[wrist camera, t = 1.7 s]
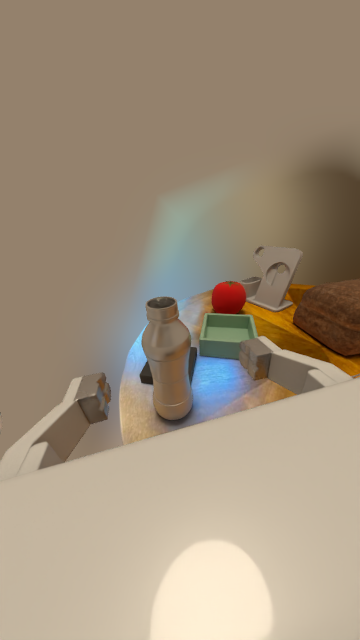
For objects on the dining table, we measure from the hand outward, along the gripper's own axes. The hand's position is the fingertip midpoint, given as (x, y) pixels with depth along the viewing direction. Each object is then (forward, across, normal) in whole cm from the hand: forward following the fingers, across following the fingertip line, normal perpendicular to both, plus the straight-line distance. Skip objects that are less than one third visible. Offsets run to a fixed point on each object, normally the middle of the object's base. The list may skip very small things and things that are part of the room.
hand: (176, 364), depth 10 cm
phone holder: (+46, -40, +19) cm, 64 cm away
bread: (+21, -52, +21) cm, 60 cm away
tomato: (+41, -24, +19) cm, 51 cm away
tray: (+27, -17, +20) cm, 37 cm away
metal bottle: (+13, 0, +20) cm, 24 cm away
